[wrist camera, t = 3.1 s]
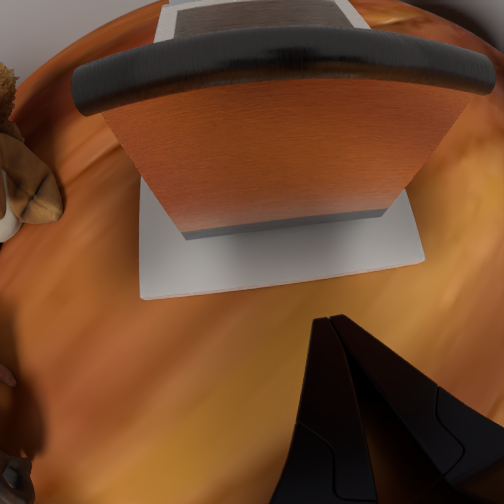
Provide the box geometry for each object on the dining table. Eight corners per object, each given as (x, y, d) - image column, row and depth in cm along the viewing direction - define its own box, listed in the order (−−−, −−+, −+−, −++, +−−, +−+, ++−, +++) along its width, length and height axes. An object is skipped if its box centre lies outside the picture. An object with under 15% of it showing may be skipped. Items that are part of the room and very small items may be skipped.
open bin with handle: (377, 231, 15) (502, 75, 4) (187, 255, 15) (65, 91, 4) (330, 90, 18) (357, -56, 7) (184, 104, 18) (141, -45, 7)
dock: (419, 263, 15) (478, 225, 10) (145, 300, 15) (89, 275, 10) (320, 23, 22) (326, -26, 17) (161, 38, 22) (147, -10, 17)
